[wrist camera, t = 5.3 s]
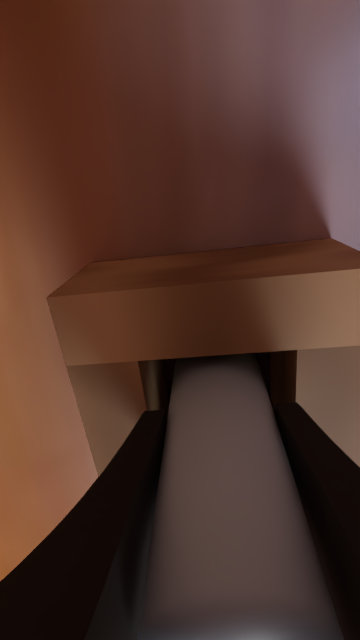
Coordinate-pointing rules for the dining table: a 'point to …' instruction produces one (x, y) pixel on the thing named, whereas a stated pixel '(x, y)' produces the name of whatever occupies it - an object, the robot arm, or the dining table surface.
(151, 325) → the socket block
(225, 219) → the dining table surface
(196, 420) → the dowel
